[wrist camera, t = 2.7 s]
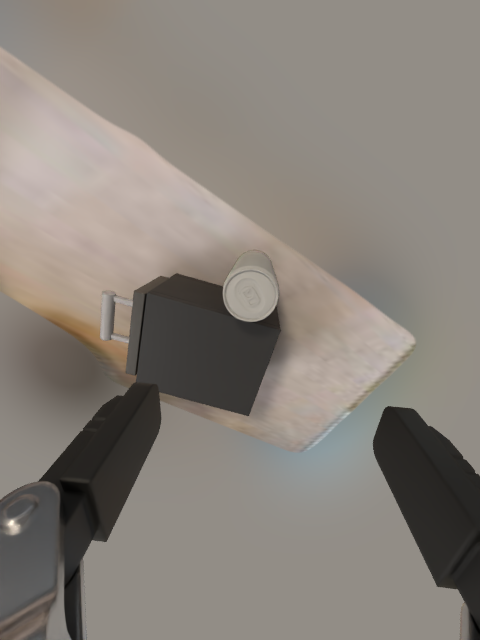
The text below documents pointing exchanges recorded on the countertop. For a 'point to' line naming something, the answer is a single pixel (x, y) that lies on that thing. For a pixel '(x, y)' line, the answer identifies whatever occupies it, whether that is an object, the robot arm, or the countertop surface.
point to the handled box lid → (136, 320)
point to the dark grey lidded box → (203, 346)
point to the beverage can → (251, 287)
